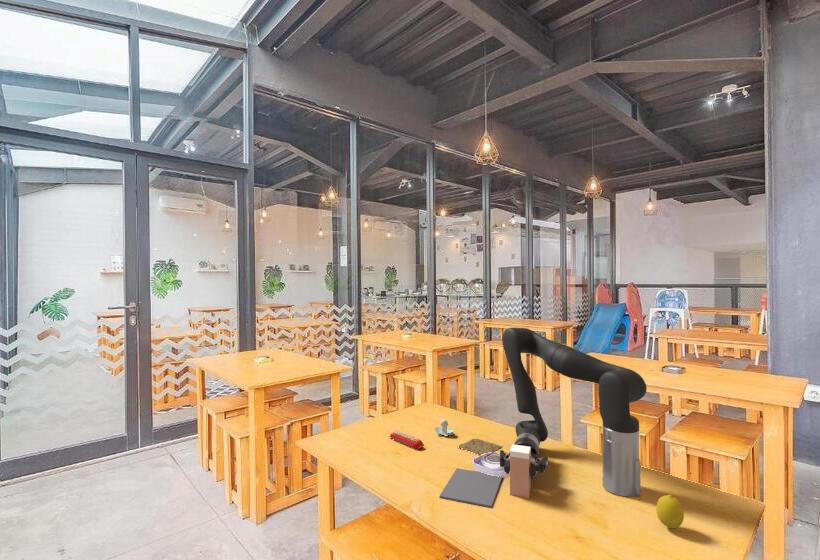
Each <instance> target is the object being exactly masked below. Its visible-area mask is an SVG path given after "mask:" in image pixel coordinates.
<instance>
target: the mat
mask: <svg viewBox="0 0 820 560" xmlns="http://www.w3.org/2000/svg"><path fill="white" fill-rule="evenodd" d="M481 472H482V471H476V470H472V469H471V470H470V469H466V468H460V467H459V468H458V467H456V469H455V470H454V472H453V474H452V475H451V477H450V478H449V480H448V481H447V483H446V485H445V486H444V488H443V490H441V491H442V492H441V493H440V494H439V496H438V497H439V498H440V499H444V500H450V501H454V502H460V503H465V504H471V505H476V506H481V507H485V508H492V507H493V504H494V501H495V499H496V498H497V497H496V496H497V493H498V491H499V488H500V485H501V483H502V480H503V478H502V476H503V475H502V476H501V477H500V476H499V477H497V476H491V475H487V474H484V473H485V472H484V473H481Z"/></svg>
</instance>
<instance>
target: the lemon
mask: <svg viewBox="0 0 820 560" xmlns="http://www.w3.org/2000/svg"><path fill="white" fill-rule="evenodd" d="M682 505H683V504H682V503H681V502H680V501H679V500H678V498H676V497H674V496H672V494H668V495H667V494H666V495H662V496H661V497H660V498H659V499H658V500H657V503H656V508H655V509H656V515H657V518H658V520H659V521H660V523H662V525H664V527H665V526H666V527H667V528H668V529H669V530H672V529H676V528H679V527H680V526H681V525H682V524H683V522H684V518H685V515H684V514H685V513H684V508H683V506H682Z"/></svg>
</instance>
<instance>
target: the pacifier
mask: <svg viewBox="0 0 820 560" xmlns="http://www.w3.org/2000/svg"><path fill="white" fill-rule="evenodd" d="M439 423H440V426H441V427H434V431H435V433H436V434H438V435H440V434H441V435H449V436H453V435H452V434H454V435H455V431H454V430H453V429H448V426H449V422H448V420H447V419H443V418H442V419H441V420H440V422H439ZM441 435H440V436H441Z"/></svg>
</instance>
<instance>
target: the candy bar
mask: <svg viewBox="0 0 820 560" xmlns="http://www.w3.org/2000/svg"><path fill="white" fill-rule="evenodd" d="M389 437H390V439H391V438H392V439H394V440H396V441H395V442H397V441H398V442H397V443H399V442H401V443H403V444H402V445H404V444H405V445H404V446H406V445H407V446H406V447H408V446H409V447H408V448H411V447H412V448H411V449H413V448H414V449H413V450H416V449H418V450H419V449H420V448H422V447H424V446H425V444H424V442H423V441H422V440H421V439H420V438H416V437H415V436H412V435H409V434H407V433H404V432H402V431H399V430H395V431H393V432H391V433H390V435H389ZM392 439H391V440H392ZM394 440H393V441H394ZM401 443H400V444H401Z"/></svg>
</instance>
